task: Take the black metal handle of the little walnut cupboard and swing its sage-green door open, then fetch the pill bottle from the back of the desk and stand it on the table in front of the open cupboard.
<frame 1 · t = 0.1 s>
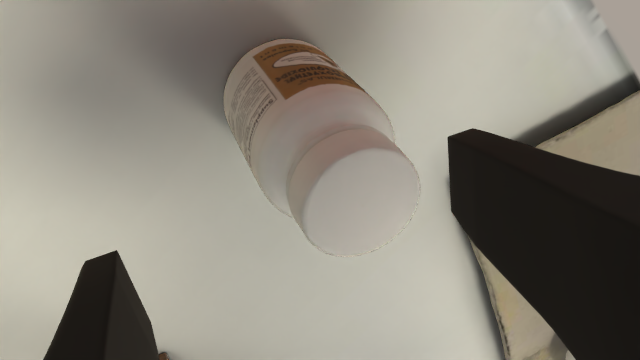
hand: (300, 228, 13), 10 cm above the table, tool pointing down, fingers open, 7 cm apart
pill bottle: (278, 92, 22), on the table
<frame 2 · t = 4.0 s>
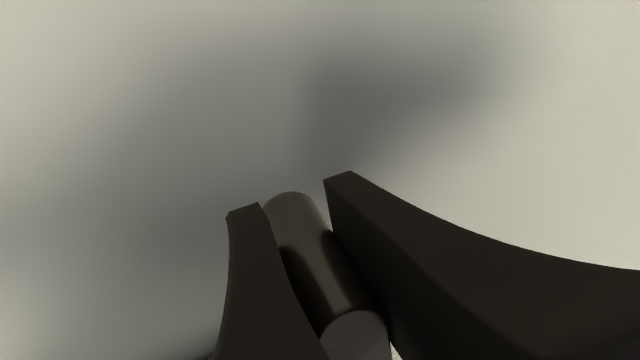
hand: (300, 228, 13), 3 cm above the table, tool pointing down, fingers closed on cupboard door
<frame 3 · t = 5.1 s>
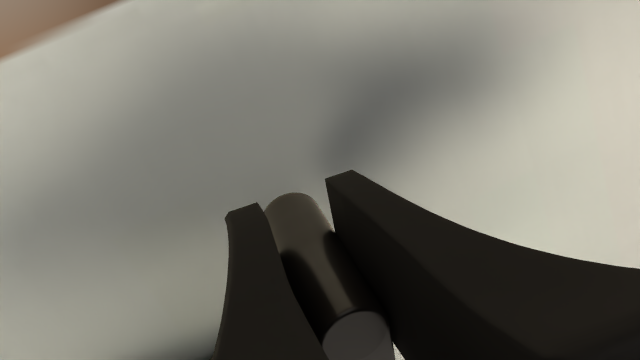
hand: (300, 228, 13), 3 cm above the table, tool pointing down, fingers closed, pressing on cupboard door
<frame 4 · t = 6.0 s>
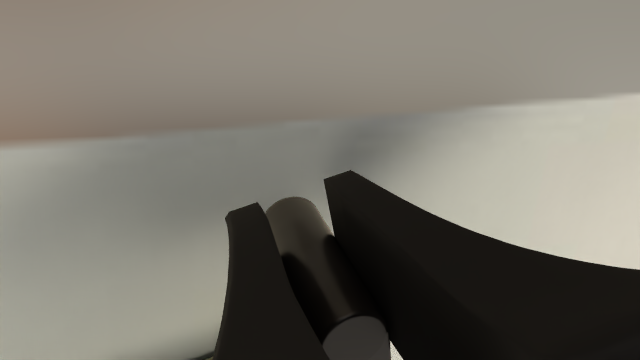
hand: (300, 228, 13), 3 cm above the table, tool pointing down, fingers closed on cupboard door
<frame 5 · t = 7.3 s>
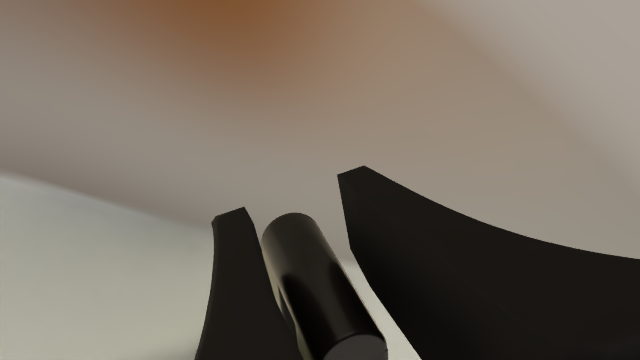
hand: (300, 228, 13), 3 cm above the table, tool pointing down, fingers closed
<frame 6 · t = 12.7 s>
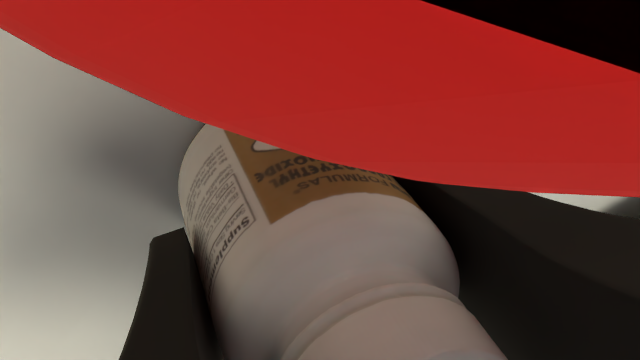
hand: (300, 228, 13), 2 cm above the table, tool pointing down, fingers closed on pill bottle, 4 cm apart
pill bottle: (265, 169, 15), on the table, touching gripper
when the fingers open (2 cm above the table, at t = 18.5 s): pill bottle stays where it is, on the table.
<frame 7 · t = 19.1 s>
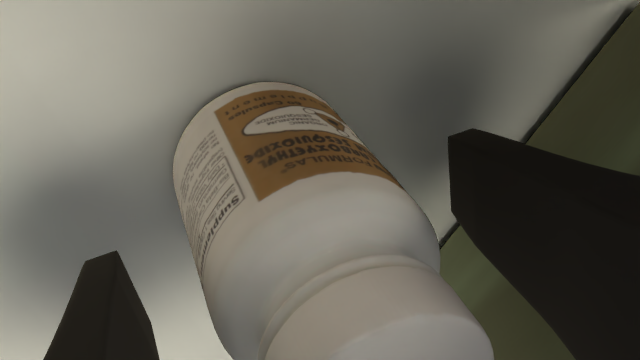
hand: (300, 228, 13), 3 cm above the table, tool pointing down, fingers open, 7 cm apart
pill bottle: (258, 156, 15), on the table
cupboard door: (637, 265, 17), point 3 cm above the table, hinge at 69.7°
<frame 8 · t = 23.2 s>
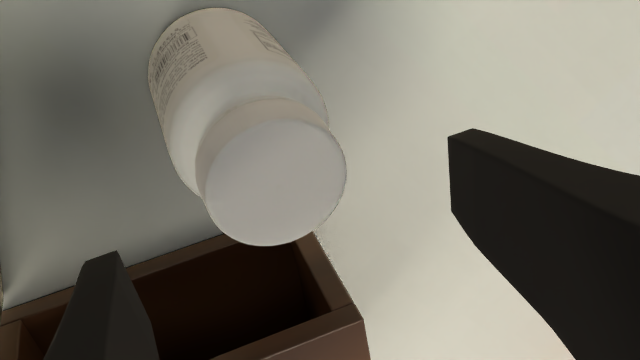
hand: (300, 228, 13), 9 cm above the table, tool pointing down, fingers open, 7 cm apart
pill bottle: (213, 69, 20), on the table
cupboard: (190, 335, 26), on the table
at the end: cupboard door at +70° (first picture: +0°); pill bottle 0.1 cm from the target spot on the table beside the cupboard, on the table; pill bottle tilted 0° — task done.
